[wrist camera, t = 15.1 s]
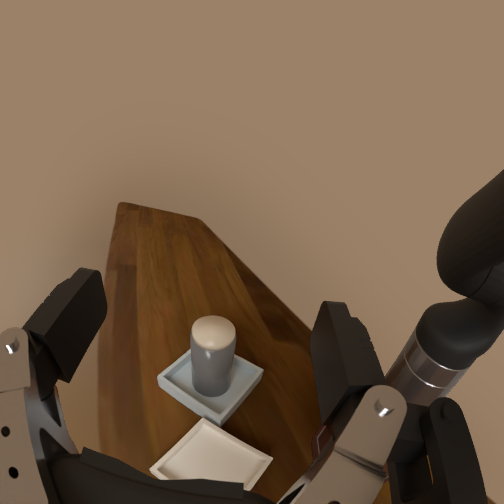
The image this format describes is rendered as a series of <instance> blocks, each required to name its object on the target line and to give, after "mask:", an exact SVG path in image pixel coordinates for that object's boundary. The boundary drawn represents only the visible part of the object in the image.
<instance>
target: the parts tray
mask: <svg viewBox="0 0 504 504" xmlns="http://www.w3.org/2000/svg"><path fill="white" fill-rule="evenodd" d="M272 460H273V458H272V457H270V456H268V455H266V454H264V453H262V452H261V451H259V450H257V449H255V448H253V447H251V446H249V445H248V444H246V443H244V442H242V441H240V440H239V439H237V438H235V437H234V436H232V435H230V434H228V433H227V432H225V431H223V430H222V429H220V428H219V427H217V426H215V425H214V424H212V423H211V422H209V421H208V420H206V419H205V418H202V419H201V420H200V421H199V422H198V423H197V424H196V425H195V426H194V427H193V428H192V429H191V430H190V431H189V432H188V433H187V434H186V435H185V436H184V437H183V438H182V439H181V440H180V441H179V442H178V443H177V444H176V445H175V446H174V447H173V448H171V449H170V450H169V451H168V452H167V453H166V454H165V455H164V456H163V457H162V458H161V459H160V460H159V461H158V462H157V463H155V464H154V465H153V466H152V467H151V468H150V469H149V470H150V471H151V473H152V474H153V475H155V476H156V477H157V478H159V479H160V480H180V479H200V478H202V479H209V480H217V481H227V482H239V483H244V490H247V491H250V490H251V489H252V487H253V486H254V485H255V483H256V482H257V481H258V479H259V478H260V477H261V475H262V474H263V472H264V471H265V470H266V468H267V467H268V465H269V464H270V463H271V461H272Z"/></svg>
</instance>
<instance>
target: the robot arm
mask: <svg viewBox="0 0 504 504" xmlns="http://www.w3.org/2000/svg"><path fill="white" fill-rule="evenodd" d="M437 269H438V273H439V275H440V278H441V279H442V281H443V283H444V284H445V285H447V286H448V288H450V289H451V290H452V291H454V292H456V293H458V294H460V295H463V296H466V297H467V298H465V299H463V300H459V301H455V302H445V303H437V304H434V305H432V306H430V307H429V308H427V310H426V311H425V312H424V313H423V315H422V317H421V319H420V321H419V322H418V324H417V326H416V328H415V329H414V331H413V333H412V335H411V336H410V338H409V340H408V342H407V343H406V345H405V346H404V348H403V350H402V351H401V353H400V355H399V356H398V358H397V359H396V361H395V362H394V364H393V365H392V367H391V368H390V370H389V371H388V373H387V374H386V376H385V377H384V374H383V372H382V369H381V366H380V363H379V360H378V358H377V355H376V352H375V351H374V347H373V344H372V342H371V341H370V337H369V334H368V332H367V329H366V327H365V326H364V325H363V324H362V323H361V322H360V320H359V319H358V318H355V317H351V316H350V313H349V311H348V308H347V305H346V304H345V303H344V302H332V301H324V302H323V303H322V305H321V307H320V310H319V313H318V316H317V319H316V322H315V324H314V327H313V330H312V333H311V337H310V352H311V358H312V364H313V370H314V376H315V383H316V389H317V396H318V403H319V410H320V417H321V424H322V426H328V425H333V430H334V433H333V435H332V436H331V437H330V439H329V440H328V442H327V443H326V445H325V446H324V447H323V449H322V450H321V452H320V453H319V454H318V456H317V457H316V458H315V460H314V461H313V462H312V464H311V465H310V466H309V468H308V469H307V470H306V471H305V473H304V474H303V475H302V476H301V477H300V479H299V480H298V481H297V482H296V483H295V484H294V485H293V486H292V487H291V488H290V489H289V490H288V492H287V493H286V494H285V495H284V496H283V497H282V498H281V499H280V500H279V502H278V503H277V504H372V503H373V501H374V500H375V498H376V496H377V494H378V492H379V491H380V489H381V487H382V485H383V483H384V480H385V477H386V473H385V472H384V471H383V466H384V464H385V462H387V468H388V475H389V483H390V491H391V500H392V504H488V502H487V497H486V492H485V487H484V482H483V478H482V474H481V470H480V466H479V462H478V458H477V455H476V452H475V448H474V445H473V441H472V438H471V435H470V432H469V429H468V426H467V423H466V420H465V418H464V415H463V412H462V410H461V408H460V406H459V405H458V404H457V403H456V402H455V401H454V400H452V399H450V398H447V397H445V396H446V395H447V394H448V393H449V392H450V391H451V389H452V388H453V387H454V386H455V385H456V384H457V382H458V381H459V380H460V379H461V377H462V376H463V375H464V374H465V372H466V371H467V370H468V369H469V367H470V366H471V365H472V363H473V362H474V361H475V360H476V358H478V357H479V356H481V355H482V354H484V353H485V352H486V351H487V350H488V349H489V348H490V347H491V346H492V345H493V343H494V342H495V341H496V339H497V338H498V336H499V335H500V334H501V332H502V331H503V329H504V170H502V171H501V172H500V173H499V174H498V175H497V176H496V177H495V178H493V179H492V180H491V181H490V182H489V183H488V184H487V185H485V186H484V187H483V188H482V189H480V190H479V191H478V192H477V193H476V194H474V195H473V196H472V197H471V198H470V199H468V200H467V201H466V202H465V203H464V204H463V205H462V206H461V207H460V208H459V209H458V210H457V211H456V212H455V214H454V215H453V217H452V218H451V219H450V221H449V223H448V224H447V226H446V228H445V230H444V232H443V234H442V237H441V239H440V242H439V246H438V251H437ZM106 314H107V301H106V296H105V292H104V287H103V282H102V277H101V273H100V272H99V271H97V270H92V269H87V268H79V269H78V270H77V271H76V272H75V273H74V274H73V276H72V277H71V278H70V279H67V280H65V281H63V282H62V283H60V284H58V285H57V286H56V288H55V289H54V290H53V291H52V292H51V293H50V296H48V297H47V298H46V299H45V300H44V303H42V304H41V305H40V306H39V307H38V308H37V310H36V311H35V312H34V313H33V315H32V316H31V317H30V318H29V320H28V321H27V322H26V323H25V325H24V326H23V328H17V327H16V328H10V329H7V330H5V331H4V332H2V333H1V334H0V504H276V503H274V502H272V501H271V500H269V499H267V498H265V497H263V496H261V495H259V494H256V493H254V492H251V491H247V490H244V483H239V482H227V481H217V480H209V479H202V478H200V479H180V480H158V479H154V478H152V477H150V476H148V475H146V474H144V473H142V472H140V471H138V470H136V469H135V468H133V467H131V466H129V465H127V464H126V463H124V462H122V461H120V460H119V459H116V458H113V457H110V456H107V455H104V454H101V453H99V452H96V451H93V450H91V449H88V448H86V447H84V448H83V450H82V453H81V454H79V453H78V451H77V448H76V446H75V444H74V443H73V441H72V440H71V438H70V436H69V434H68V431H67V428H66V424H65V420H64V416H63V412H62V408H61V404H60V399H59V395H58V390H57V387H56V385H55V384H56V382H57V380H58V379H59V380H62V381H65V382H67V383H70V381H71V379H72V377H73V375H74V373H75V371H76V369H77V367H78V366H79V364H80V362H81V360H82V358H83V356H84V354H85V353H86V351H87V349H88V347H89V345H90V343H91V342H92V340H93V339H94V337H95V335H96V333H97V332H98V330H99V328H100V327H101V325H102V323H103V322H104V320H105V318H106ZM427 455H428V457H429V461H430V466H431V471H432V476H433V485H432V479H431V474H430V469H429V464H428V460H427Z"/></svg>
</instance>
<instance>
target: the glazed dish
mask: <svg viewBox="0 0 504 504" xmlns="http://www.w3.org/2000/svg"><path fill="white" fill-rule="evenodd" d="M263 371H264V370H263V369H261V368H260V367H258V366H256V365H254V364H252V363H250V362H248V361H246V360H245V359H243V358H241V357H239V356H237V355H235V354H234V359H233V367H232V374H231V382H230V387H229V389H228V391H227V392H226V393H224V394H223V395H221V396H218V397H206V396H203V395H201V394H199V393H198V392H197V391H196V390H195V389H194V387H193V385H192V370H191V349H190V350H189V351H187V352H186V353H185V354H184V355H183V356H181V357H180V358H179V359H178V360H177V361H175V362H174V363H173V364H172V365H170V366H169V367H168V368H167V369H166V370H164V371H163V372H162V373H161V374H159V375H158V376H157V379H158V384H159V386H160V387H161V388H162V389H163V390H165V391H166V392H167V393H169V394H170V395H171V396H173V397H174V398H175V399H177V400H178V401H180V402H181V403H182V404H184V405H185V406H187V407H188V408H189V409H191V410H192V411H194V412H195V413H197V414H198V415H200V416H201V417H203V418H205V419H206V420H208V421H209V422H211V423H212V424H214V425H215V426H217V427H219V428H221V427H222V425H223V424H224V423H225V422H226V421H227V420H228V419H229V417H230V416H231V415H232V414H233V413H234V412H235V411H236V409H237V408H238V407H239V406H240V405H241V403H242V402H243V401H244V400H245V399H246V397H247V396H248V395H249V394H250V393H251V391H252V390H253V389H254V388H255V386H256V385H257V384H258V383H259V381H260V380H261V378H262V375H263Z"/></svg>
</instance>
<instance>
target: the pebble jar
mask: <svg viewBox="0 0 504 504" xmlns="http://www.w3.org/2000/svg"><path fill="white" fill-rule="evenodd" d="M190 338H191V370H192V385H193V387H194V389H195V390H196V391H197V392H198V393H199V394H201V395H203V396H206V397H218V396H221V395H223V394H224V393H226V392H227V391H228V389H229V387H230V382H231V374H232V367H233V359H234V352H235V344H236V333H235V327H234V325H233V324H232V323H231V322H230V321H229V320H227V319H225V318H223V317H220V316H205V317H202V318H200V319H198V320H197V321H195V323H194V324H193V326H192V330H191V334H190Z"/></svg>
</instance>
